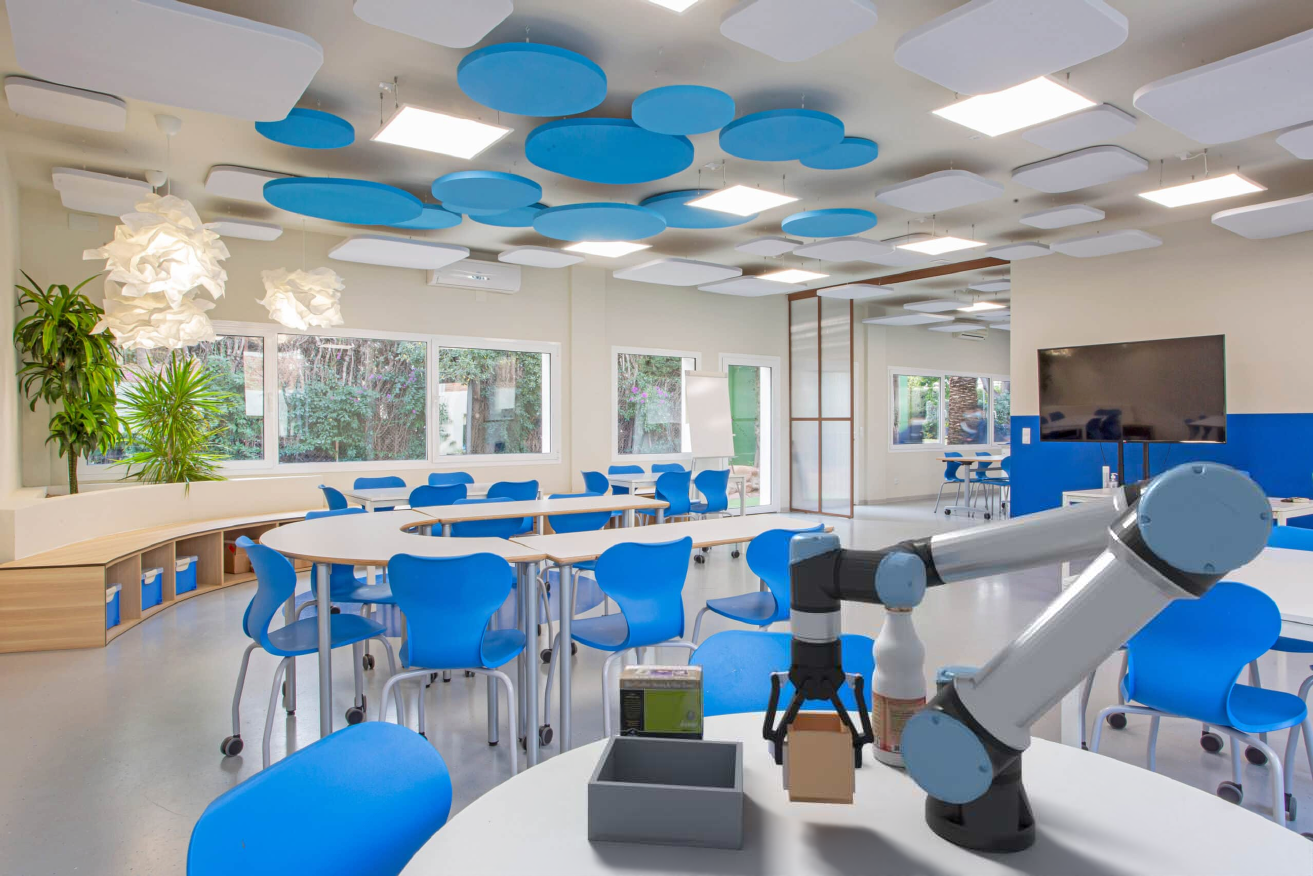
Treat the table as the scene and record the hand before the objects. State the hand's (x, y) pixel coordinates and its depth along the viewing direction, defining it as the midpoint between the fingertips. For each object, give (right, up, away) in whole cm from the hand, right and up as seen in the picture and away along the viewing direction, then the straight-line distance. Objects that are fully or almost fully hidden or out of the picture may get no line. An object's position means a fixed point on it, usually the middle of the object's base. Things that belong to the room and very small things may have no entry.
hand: (818, 787), depth 113 cm
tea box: (-23, -6, +27) cm, 36 cm away
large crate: (-22, -5, +3) cm, 23 cm away
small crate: (0, 0, 0) cm, 0 cm away
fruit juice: (+20, -6, +24) cm, 32 cm away
